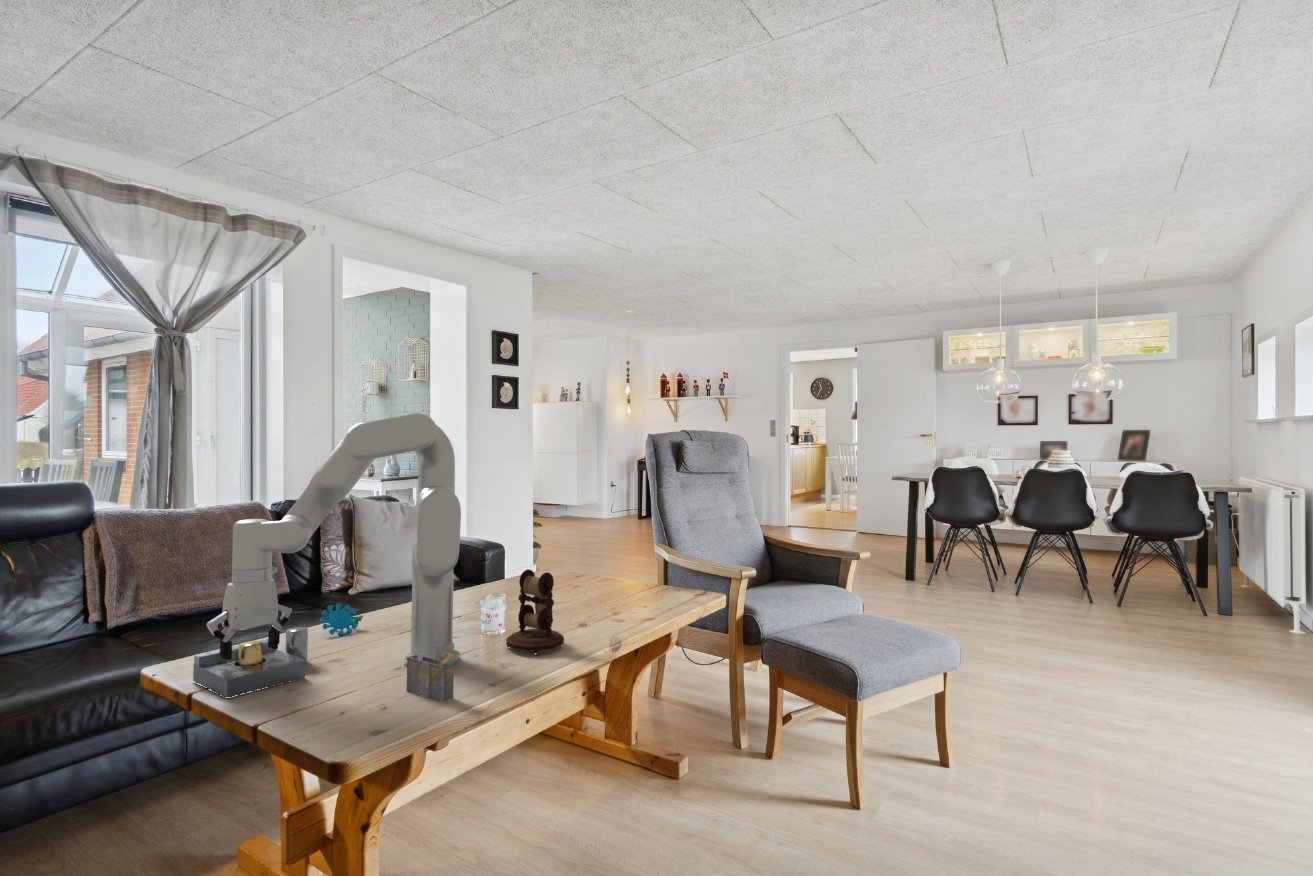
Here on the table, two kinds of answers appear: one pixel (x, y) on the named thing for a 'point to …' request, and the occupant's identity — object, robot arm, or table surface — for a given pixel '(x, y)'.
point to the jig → (246, 671)
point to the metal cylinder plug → (297, 642)
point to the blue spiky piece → (340, 619)
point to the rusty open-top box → (430, 677)
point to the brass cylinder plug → (250, 653)
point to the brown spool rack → (535, 615)
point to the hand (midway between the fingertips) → (250, 653)
